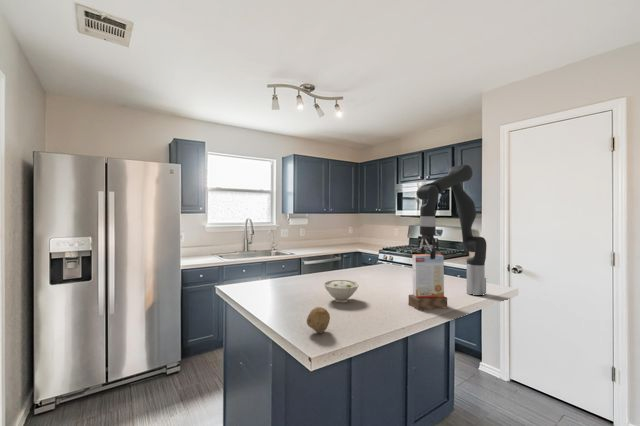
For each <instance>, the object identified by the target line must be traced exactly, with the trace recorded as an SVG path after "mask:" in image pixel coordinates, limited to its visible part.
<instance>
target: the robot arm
mask: <svg viewBox="0 0 640 426" xmlns="http://www.w3.org/2000/svg"><path fill="white" fill-rule="evenodd" d="M447 173H448V175H445V176H441V177H439V178H438V179H435V180H434V181H432V182H430V183H429V182H428V183H426V184H423V185H420V186H419V187H418V188H417V190H416V197H417V198H418V199H419V200H423V201H425V200H426V203H425V204H422V205H420V209H419V212H420V213H419V217H420V218H419V235H418V236H417V248H419V253H420V254H426V247H428V248H429V251H430V253H429V254H430V259H435V254H436V252H437V251H439V249H440V248H439V238H438V237H434V236H436V233H437V232H436V225H437V224H436V222H437V221H436V207H437V203H438V199H439V196H440V194H441V193H444V192H445V191H447V190H449V189H450V188H451V189H452V192H453V195H454V199H455V205H456V210H457V214H458V219H459V223H460V229H461V237H462V245H463V248H464V250H466V251H467V252H469V253H470V252H471V253H474V254H473V255H474V256H473V257H469V258H466V294H467V293H469V294H474V295H483V294H485V293H486V294H487V278H486V276H485V274H486V272H485V271H486V269H485V266H486V265H485V264H486V259H487V240H486V238H484V237H482V236H477V235H475V236H474V235H473V232H472V227H473V225H474V224H473V223H474V222H475V220H476V217H477V210H476V205H475V204H476V203H475V202H474V200H473V199H472V198H471V197H470V196H469V195H468V193H467V192H466V191H465V190H464V188H463V186H462V183H464V182H468V181H470V180H471V179H472V177H473V169H472V167H471V166H470V165H469V164H461V165H454V166H451V167H450V168H449V169H448V172H447ZM469 294H468V295H469Z"/></svg>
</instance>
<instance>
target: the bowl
mask: <svg viewBox="0 0 640 426" xmlns="http://www.w3.org/2000/svg"><path fill="white" fill-rule="evenodd" d="M322 283H323V286H324V287H325V289H326V291H327V292H328V294H329V295H330V296H331V297H332V298H334V301H335V302H337V303H346V302H348V301H349V299H350V298H351V297H352V296H353V295H354V294H355V292H356V291H358V288H359V285H360V283H359V282H357V281H354V280H349V279H331V280H326V281H325V282H322Z"/></svg>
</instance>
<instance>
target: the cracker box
mask: <svg viewBox="0 0 640 426" xmlns="http://www.w3.org/2000/svg"><path fill="white" fill-rule="evenodd" d="M411 259H412V265H411V266H412V295H414V296H415V297H416V298H430V297H441V298H442V297H444V296H445V276H444V275H445V273H444V272H445V271H444V268H445V267H444V265H445V264H444V263H445V262H444V261H445V259H444V255H443V254H440V253H439V254H438V253H435V259H430V253H427V254H426V253H425V254H419V253H417V254H416V253H415V254H412V258H411Z"/></svg>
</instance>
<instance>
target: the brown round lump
mask: <svg viewBox="0 0 640 426" xmlns="http://www.w3.org/2000/svg"><path fill="white" fill-rule="evenodd" d="M330 320H331V314H330V312H329V311H328V310H327V309H326V308H325V307H321V306H317V307H314V308H312V309H311V310H310V312H309V314H308V316H307V318H306V325H307V326H308V327H309V328H311V329H312V330H313V331H314V332H316V333H317V334H323V333H324V332H325V331H326V330H327V329H328V326H329V324H330Z"/></svg>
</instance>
